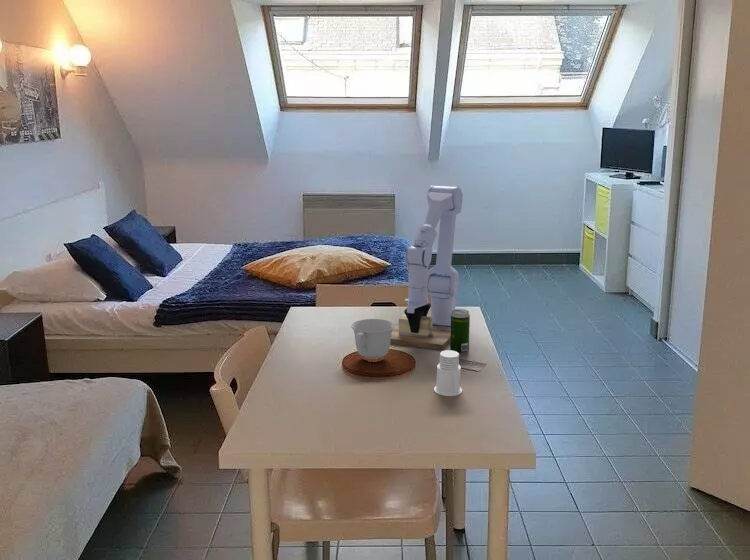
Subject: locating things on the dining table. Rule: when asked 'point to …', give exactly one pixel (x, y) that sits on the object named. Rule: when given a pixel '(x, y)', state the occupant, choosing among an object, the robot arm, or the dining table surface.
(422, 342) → the board
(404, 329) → the block
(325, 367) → the dining table surface
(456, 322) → the guarana soda can
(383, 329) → the teacup
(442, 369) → the downlight
